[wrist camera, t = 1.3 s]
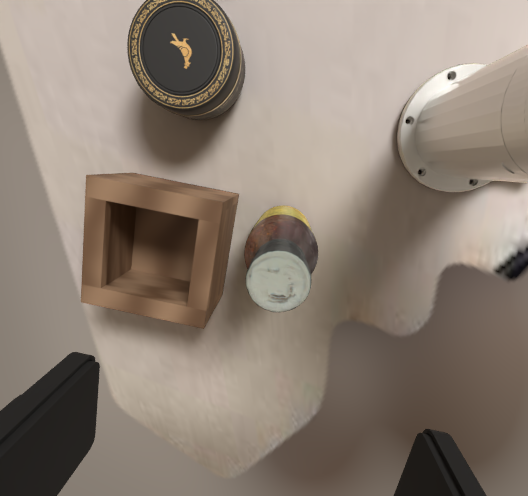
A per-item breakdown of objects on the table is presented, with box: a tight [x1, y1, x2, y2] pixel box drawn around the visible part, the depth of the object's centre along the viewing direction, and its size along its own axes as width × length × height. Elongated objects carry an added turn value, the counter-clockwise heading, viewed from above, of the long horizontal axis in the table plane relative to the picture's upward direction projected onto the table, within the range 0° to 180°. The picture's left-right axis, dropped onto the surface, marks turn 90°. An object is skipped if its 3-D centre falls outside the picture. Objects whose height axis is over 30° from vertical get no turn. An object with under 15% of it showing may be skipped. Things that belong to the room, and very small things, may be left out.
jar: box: [128, 0, 245, 120], centre depth 32 cm, size 10×10×8 cm
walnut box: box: [81, 173, 239, 329], centre depth 36 cm, size 13×13×9 cm
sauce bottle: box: [244, 206, 318, 312], centre depth 29 cm, size 7×6×20 cm
